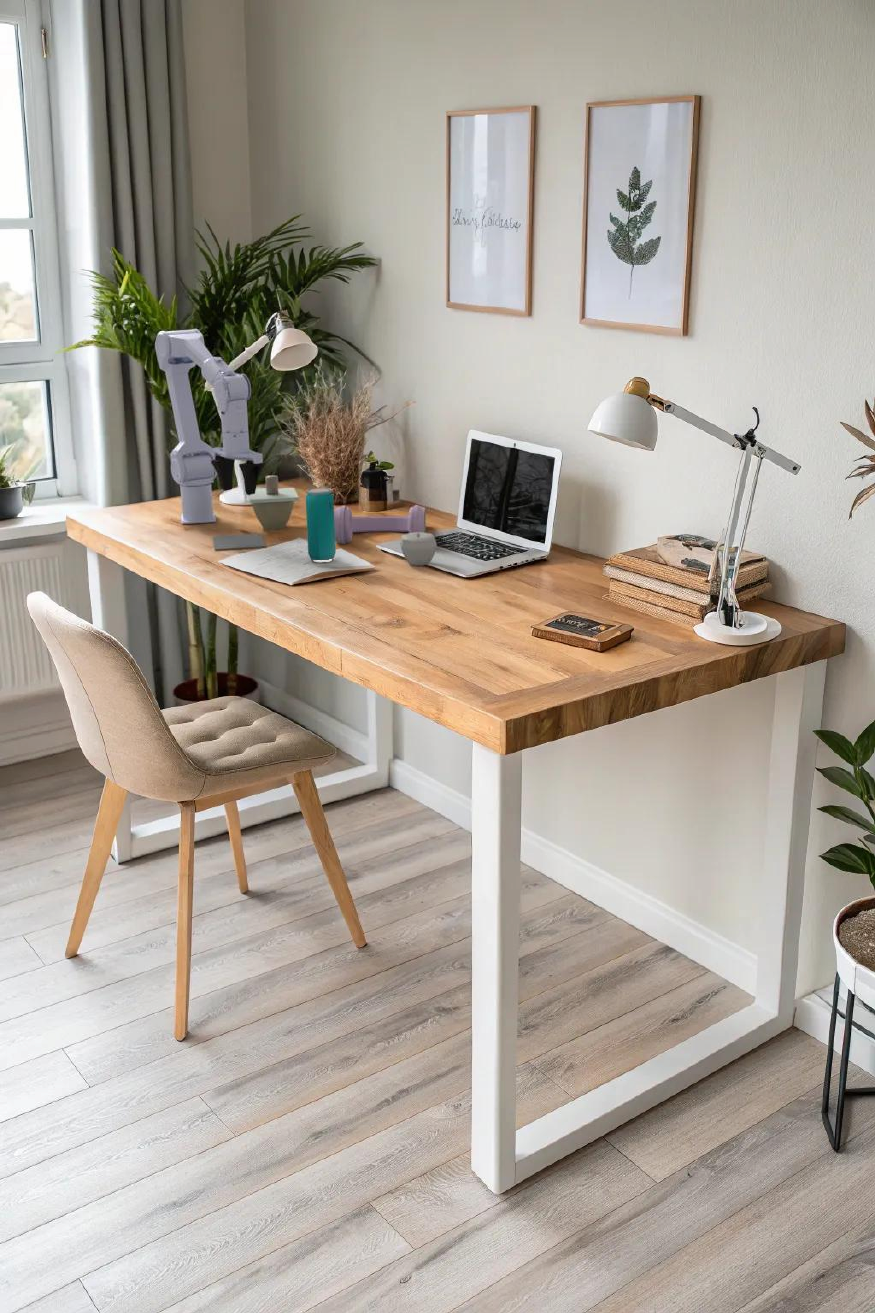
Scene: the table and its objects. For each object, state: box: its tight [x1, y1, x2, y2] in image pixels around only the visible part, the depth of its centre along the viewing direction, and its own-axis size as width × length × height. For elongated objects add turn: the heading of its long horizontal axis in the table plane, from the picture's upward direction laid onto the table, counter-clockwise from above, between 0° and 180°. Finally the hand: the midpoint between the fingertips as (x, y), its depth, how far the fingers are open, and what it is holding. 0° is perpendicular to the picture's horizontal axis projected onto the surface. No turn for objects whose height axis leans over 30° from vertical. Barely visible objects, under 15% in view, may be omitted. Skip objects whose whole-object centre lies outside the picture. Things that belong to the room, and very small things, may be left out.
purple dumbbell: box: [334, 504, 427, 545], centre depth 280 cm, size 20×10×20 cm
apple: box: [399, 532, 438, 567], centre depth 257 cm, size 8×8×7 cm
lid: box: [247, 474, 300, 504], centre depth 288 cm, size 11×11×5 cm
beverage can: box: [305, 486, 337, 560], centre depth 259 cm, size 6×6×15 cm
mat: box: [212, 532, 267, 552], centre depth 277 cm, size 12×11×1 cm
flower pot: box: [251, 501, 295, 530], centre depth 290 cm, size 10×10×7 cm
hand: (239, 492), depth 279 cm, fingers open, 7 cm apart
